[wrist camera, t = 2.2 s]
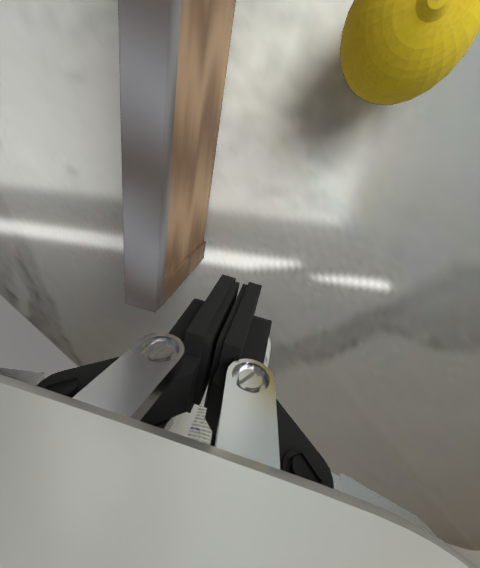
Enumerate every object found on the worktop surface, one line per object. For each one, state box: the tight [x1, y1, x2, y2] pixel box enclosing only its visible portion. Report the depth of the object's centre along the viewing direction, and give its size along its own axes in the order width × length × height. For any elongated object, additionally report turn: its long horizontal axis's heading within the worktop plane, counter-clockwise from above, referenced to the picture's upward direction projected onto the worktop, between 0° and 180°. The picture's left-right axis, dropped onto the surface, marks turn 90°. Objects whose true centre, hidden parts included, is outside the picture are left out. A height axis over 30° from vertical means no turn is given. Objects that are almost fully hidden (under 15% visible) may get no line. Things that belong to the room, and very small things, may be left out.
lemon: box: [340, 0, 480, 105], centre depth 13 cm, size 6×6×8 cm
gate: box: [118, 0, 236, 312], centre depth 16 cm, size 20×2×9 cm, turn 169°
